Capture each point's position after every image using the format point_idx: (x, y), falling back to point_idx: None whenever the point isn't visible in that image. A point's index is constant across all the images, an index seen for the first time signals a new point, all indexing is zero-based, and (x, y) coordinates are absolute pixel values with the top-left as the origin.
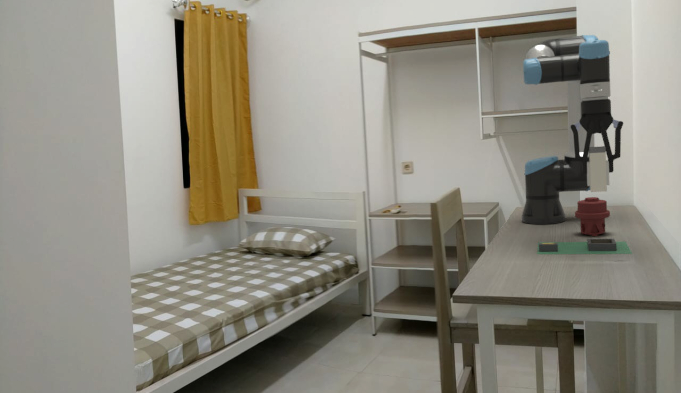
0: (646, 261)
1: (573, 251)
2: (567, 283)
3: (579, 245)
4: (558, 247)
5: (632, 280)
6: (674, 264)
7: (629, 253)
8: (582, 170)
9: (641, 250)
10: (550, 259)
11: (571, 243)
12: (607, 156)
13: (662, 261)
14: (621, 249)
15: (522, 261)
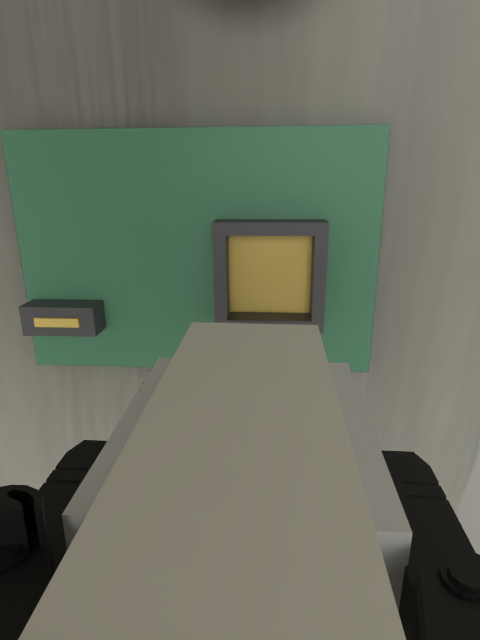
0: (398, 423)
1: (162, 327)
2: None
3: (183, 209)
4: (100, 248)
5: None
6: (471, 463)
7: (358, 370)
8: (62, 469)
9: (425, 247)
10: (91, 384)
11: (149, 162)
12: (422, 637)
13: (448, 425)
14: (342, 299)
15: (6, 408)
